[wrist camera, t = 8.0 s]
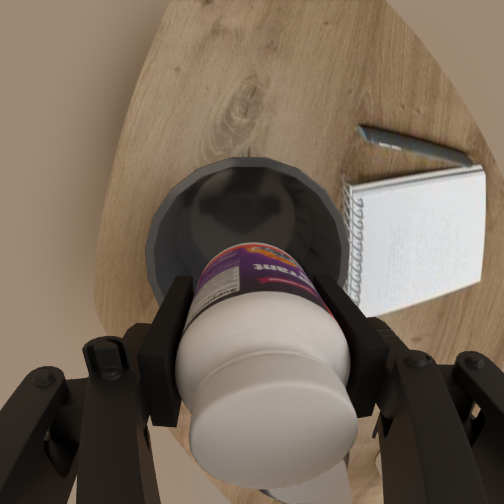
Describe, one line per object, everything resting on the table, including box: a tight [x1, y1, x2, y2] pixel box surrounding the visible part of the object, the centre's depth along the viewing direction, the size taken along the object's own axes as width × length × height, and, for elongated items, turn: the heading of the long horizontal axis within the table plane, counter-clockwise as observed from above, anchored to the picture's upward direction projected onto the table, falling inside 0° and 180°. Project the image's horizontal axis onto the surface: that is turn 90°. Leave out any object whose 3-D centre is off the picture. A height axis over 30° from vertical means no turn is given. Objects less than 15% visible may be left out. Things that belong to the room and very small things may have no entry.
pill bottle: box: [175, 242, 358, 489], centre depth 11 cm, size 5×5×10 cm
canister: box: [145, 157, 350, 306], centre depth 25 cm, size 13×13×9 cm
